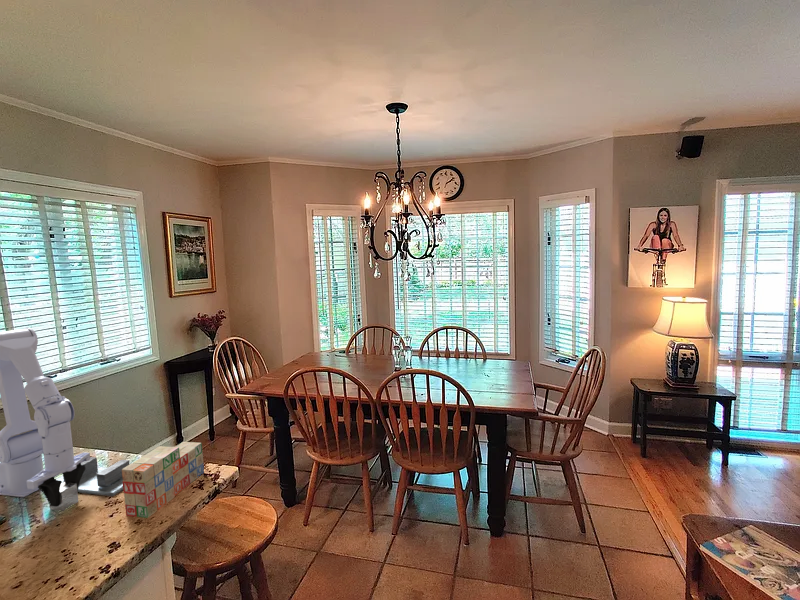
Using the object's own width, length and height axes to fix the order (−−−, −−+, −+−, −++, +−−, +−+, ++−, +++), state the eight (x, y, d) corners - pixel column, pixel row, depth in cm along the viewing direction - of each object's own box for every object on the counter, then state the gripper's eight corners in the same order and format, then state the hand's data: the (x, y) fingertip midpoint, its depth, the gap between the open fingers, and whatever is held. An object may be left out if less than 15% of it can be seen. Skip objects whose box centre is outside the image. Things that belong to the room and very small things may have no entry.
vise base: (50, 489, 113) (48, 472, 112) (87, 469, 123) (86, 453, 123) (113, 496, 109) (111, 479, 108) (145, 474, 120) (144, 458, 119)
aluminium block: (50, 509, 104) (47, 490, 103) (65, 500, 108) (63, 482, 107) (63, 510, 103) (61, 492, 102) (78, 501, 107) (76, 483, 106)
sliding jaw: (97, 486, 111) (96, 474, 111) (122, 471, 119) (121, 459, 119) (105, 487, 111) (104, 474, 111) (130, 471, 119) (129, 460, 118)
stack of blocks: (185, 471, 121) (182, 431, 120) (204, 472, 120) (201, 432, 119) (125, 516, 101) (120, 468, 99) (147, 518, 99) (143, 470, 98)
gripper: (41, 464, 96) (48, 519, 97) (97, 437, 110) (102, 485, 111) (17, 462, 97) (23, 516, 99) (75, 436, 111) (80, 483, 113)
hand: (63, 500), depth 105 cm, fingers closed on aluminium block, 4 cm apart
